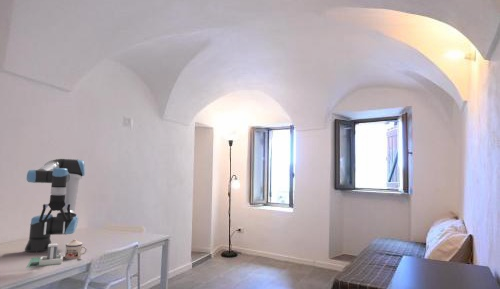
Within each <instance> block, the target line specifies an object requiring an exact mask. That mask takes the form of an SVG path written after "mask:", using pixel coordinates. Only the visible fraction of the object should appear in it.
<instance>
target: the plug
mask: <svg viewBox="0 0 500 289" xmlns="http://www.w3.org/2000/svg"><path fill="white" fill-rule="evenodd" d="M58 245H59V243H51V244H49V245H48V251H46V252H47V254H46V256H47V259H56V257H57V254H58Z"/></svg>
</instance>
